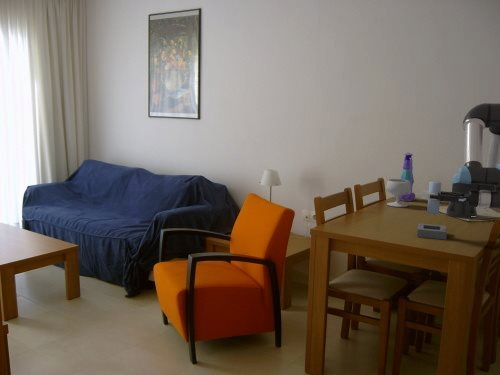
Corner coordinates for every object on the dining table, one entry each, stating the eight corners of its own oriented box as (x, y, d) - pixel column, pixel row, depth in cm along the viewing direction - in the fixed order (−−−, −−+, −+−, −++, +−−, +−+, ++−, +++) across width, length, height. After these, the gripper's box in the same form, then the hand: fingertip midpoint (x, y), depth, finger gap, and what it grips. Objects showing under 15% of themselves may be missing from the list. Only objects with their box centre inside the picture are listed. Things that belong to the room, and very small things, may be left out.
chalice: (380, 204, 283) (381, 179, 280) (394, 202, 291) (396, 178, 288) (400, 208, 272) (401, 183, 269) (414, 206, 280) (416, 181, 277)
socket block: (444, 233, 218) (445, 225, 218) (446, 239, 207) (446, 231, 207) (417, 230, 222) (417, 223, 222) (417, 236, 211) (417, 229, 211)
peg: (438, 212, 215) (441, 181, 212) (439, 214, 210) (441, 183, 208) (426, 211, 216) (429, 181, 214) (427, 213, 212) (429, 182, 209)
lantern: (419, 201, 294) (422, 153, 289) (401, 202, 292) (405, 153, 287) (409, 197, 307) (412, 151, 302) (392, 198, 305) (395, 151, 300)
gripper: (480, 211, 198) (421, 206, 206) (475, 203, 215) (421, 199, 223) (481, 193, 197) (422, 189, 205) (477, 187, 214) (422, 183, 221)
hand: (421, 194), depth 214 cm, fingers closed on peg, 5 cm apart
